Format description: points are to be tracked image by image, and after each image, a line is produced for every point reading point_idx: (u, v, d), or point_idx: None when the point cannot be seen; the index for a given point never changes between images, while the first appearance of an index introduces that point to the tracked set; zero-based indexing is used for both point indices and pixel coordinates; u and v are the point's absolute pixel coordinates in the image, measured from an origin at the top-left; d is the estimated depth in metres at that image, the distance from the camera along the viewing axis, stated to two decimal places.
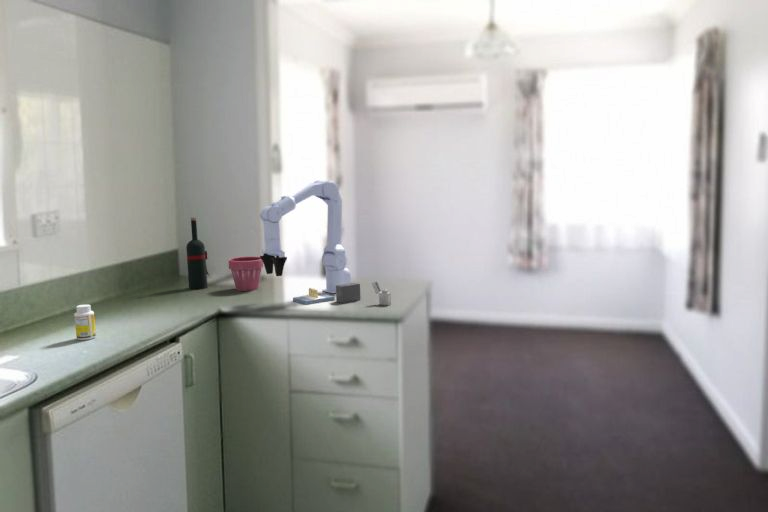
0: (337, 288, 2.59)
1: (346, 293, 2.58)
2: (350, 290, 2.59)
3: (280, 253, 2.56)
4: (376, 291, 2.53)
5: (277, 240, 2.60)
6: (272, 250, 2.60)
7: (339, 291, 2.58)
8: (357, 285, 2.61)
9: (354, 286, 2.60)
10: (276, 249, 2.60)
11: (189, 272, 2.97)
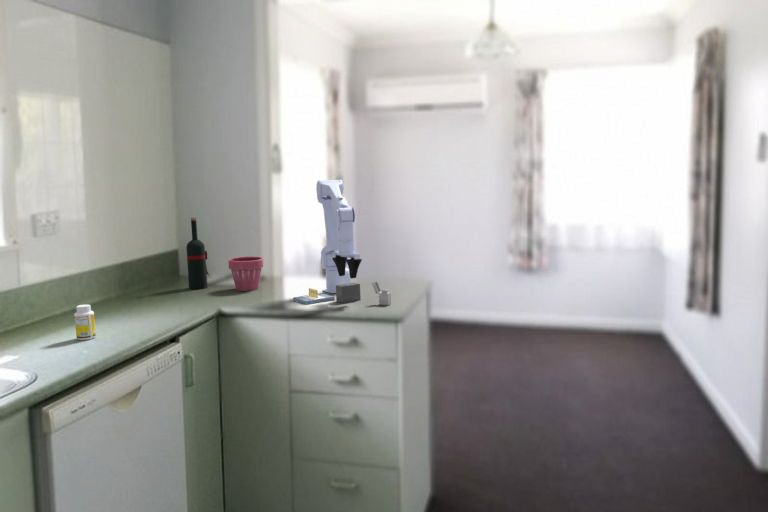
0: (337, 288, 2.59)
1: (346, 293, 2.58)
2: (350, 290, 2.59)
3: (356, 255, 2.53)
4: (376, 291, 2.53)
5: (351, 242, 2.57)
6: (346, 252, 2.56)
7: (339, 291, 2.58)
8: (357, 285, 2.61)
9: (354, 286, 2.60)
10: (350, 251, 2.57)
11: (189, 272, 2.97)
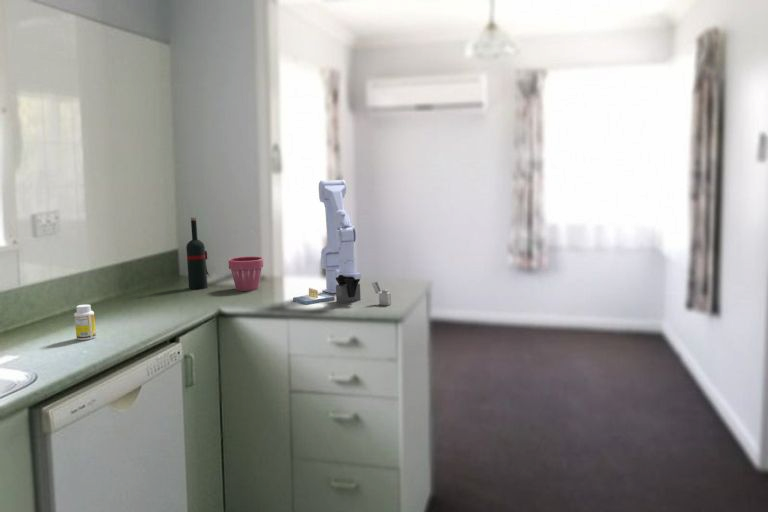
0: (337, 288, 2.59)
1: (346, 293, 2.58)
2: None
3: (356, 275, 2.54)
4: (376, 291, 2.53)
5: (352, 261, 2.58)
6: (347, 272, 2.57)
7: (339, 291, 2.58)
8: (357, 285, 2.61)
9: None
10: (351, 270, 2.58)
11: (189, 272, 2.97)
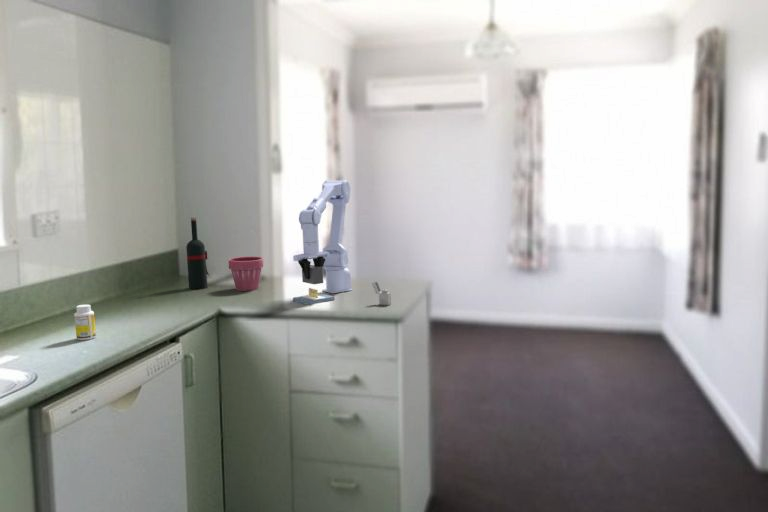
0: None
1: None
2: None
3: (293, 256, 2.58)
4: (376, 291, 2.53)
5: (305, 244, 2.59)
6: None
7: None
8: (311, 269, 2.59)
9: None
10: (304, 252, 2.60)
11: (189, 272, 2.97)
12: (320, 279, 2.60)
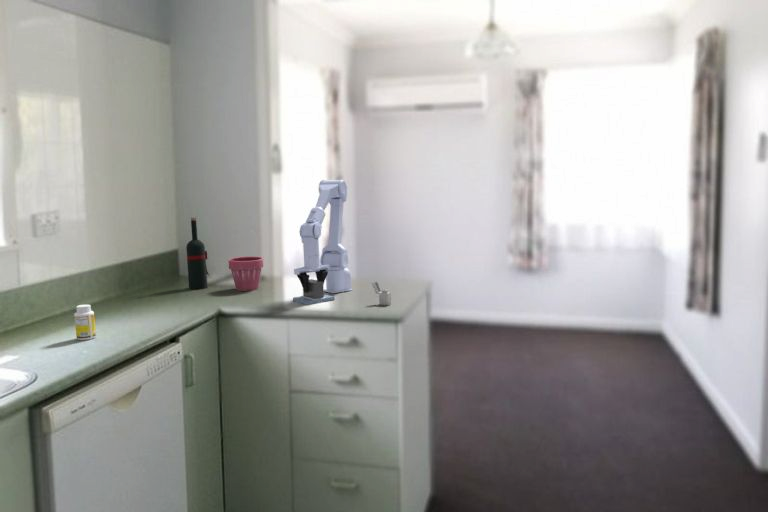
0: None
1: None
2: (308, 286, 2.62)
3: (294, 270, 2.59)
4: (376, 291, 2.53)
5: (306, 257, 2.60)
6: (304, 266, 2.62)
7: None
8: (312, 283, 2.60)
9: (310, 284, 2.61)
10: (305, 266, 2.61)
11: (189, 272, 2.97)
12: (321, 294, 2.61)
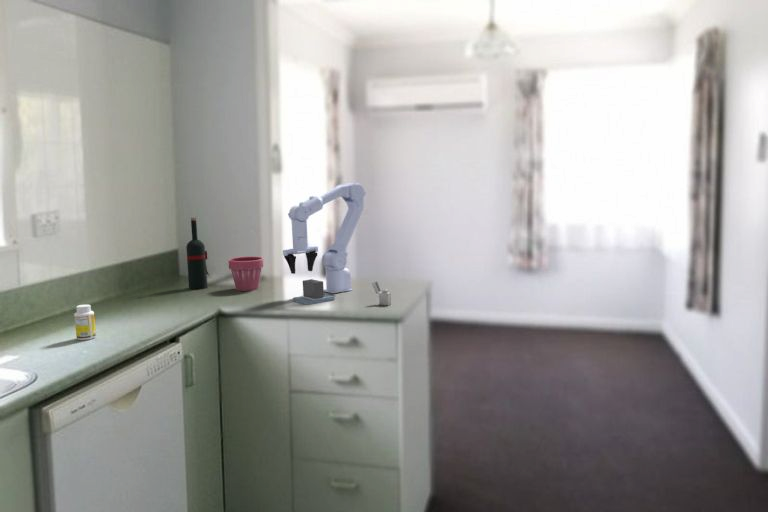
0: None
1: (305, 288, 2.64)
2: (308, 286, 2.62)
3: (283, 251, 2.67)
4: (376, 291, 2.53)
5: (294, 239, 2.68)
6: None
7: None
8: (312, 283, 2.60)
9: (310, 284, 2.61)
10: (294, 247, 2.69)
11: (189, 272, 2.97)
12: (321, 294, 2.61)
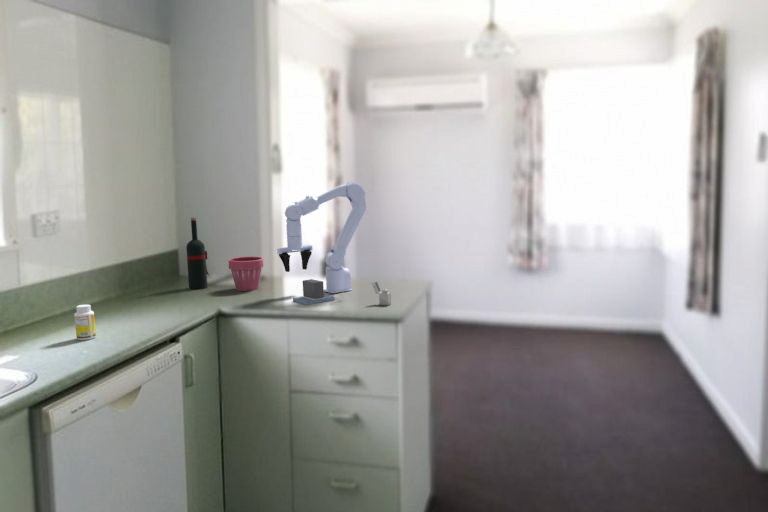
0: None
1: (305, 288, 2.64)
2: (308, 286, 2.62)
3: (277, 250, 2.72)
4: (376, 291, 2.53)
5: (289, 238, 2.73)
6: None
7: None
8: (312, 283, 2.60)
9: (310, 284, 2.61)
10: (288, 246, 2.74)
11: (189, 272, 2.97)
12: (321, 294, 2.61)
